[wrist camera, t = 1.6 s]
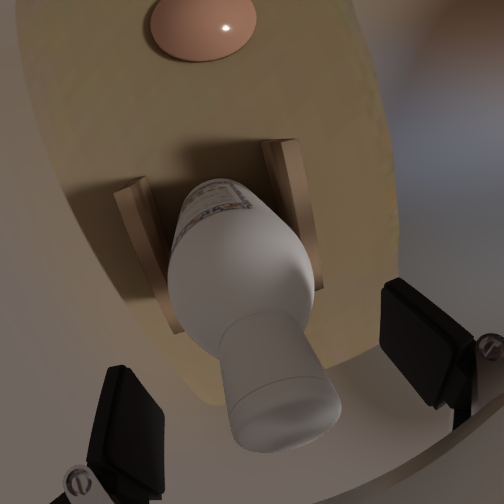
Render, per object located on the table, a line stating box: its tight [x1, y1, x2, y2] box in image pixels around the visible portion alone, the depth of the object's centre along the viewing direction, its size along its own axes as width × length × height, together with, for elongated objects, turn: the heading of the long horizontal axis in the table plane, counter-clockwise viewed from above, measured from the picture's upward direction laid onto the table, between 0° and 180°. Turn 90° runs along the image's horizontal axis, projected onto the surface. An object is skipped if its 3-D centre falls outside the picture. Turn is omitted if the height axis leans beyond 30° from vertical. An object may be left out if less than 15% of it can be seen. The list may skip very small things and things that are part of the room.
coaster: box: [150, 0, 257, 62], centre depth 17 cm, size 9×9×1 cm
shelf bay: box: [113, 139, 324, 334], centre depth 21 cm, size 12×12×6 cm
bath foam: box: [167, 179, 342, 453], centre depth 15 cm, size 7×7×20 cm
